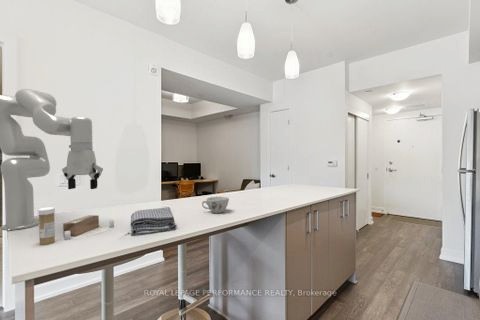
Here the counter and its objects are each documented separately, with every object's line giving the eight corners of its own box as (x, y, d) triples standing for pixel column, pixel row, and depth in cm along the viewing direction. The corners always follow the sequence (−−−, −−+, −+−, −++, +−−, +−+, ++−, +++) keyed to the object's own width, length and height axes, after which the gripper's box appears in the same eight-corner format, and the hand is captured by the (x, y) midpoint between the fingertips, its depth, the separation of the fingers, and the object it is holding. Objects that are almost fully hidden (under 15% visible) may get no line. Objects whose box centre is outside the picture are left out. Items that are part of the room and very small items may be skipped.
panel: (49, 237, 93) (49, 228, 93) (101, 224, 110) (101, 216, 110) (69, 245, 85) (69, 234, 85) (121, 229, 102) (121, 221, 102)
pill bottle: (37, 245, 85) (36, 208, 84) (53, 242, 88) (52, 206, 88) (40, 248, 82) (39, 210, 81) (57, 244, 85) (56, 207, 85)
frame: (63, 236, 91) (63, 223, 91) (88, 226, 104) (87, 215, 104) (75, 236, 91) (75, 223, 91) (98, 226, 104) (98, 215, 104)
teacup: (226, 209, 140) (226, 195, 140) (231, 214, 128) (230, 199, 128) (201, 210, 136) (201, 196, 136) (203, 215, 124) (202, 200, 124)
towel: (130, 227, 107) (130, 209, 107) (172, 221, 115) (171, 205, 115) (130, 237, 93) (130, 217, 93) (177, 230, 101) (177, 212, 101)
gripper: (54, 147, 94) (55, 190, 95) (95, 146, 93) (96, 190, 93) (69, 148, 102) (70, 187, 102) (107, 147, 100) (108, 187, 101)
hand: (82, 188), depth 98 cm, fingers open, 9 cm apart
